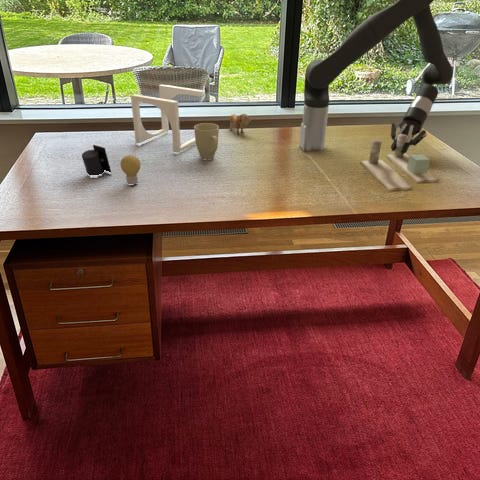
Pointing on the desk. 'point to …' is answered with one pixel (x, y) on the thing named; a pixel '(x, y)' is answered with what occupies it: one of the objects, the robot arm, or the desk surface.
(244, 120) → the lion figurine
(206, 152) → the mug
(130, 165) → the light bulb
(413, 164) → the sage block
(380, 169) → the empty strip
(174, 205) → the desk surface
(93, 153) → the speaker
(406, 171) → the block strip
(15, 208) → the desk surface
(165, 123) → the cream frame stand
